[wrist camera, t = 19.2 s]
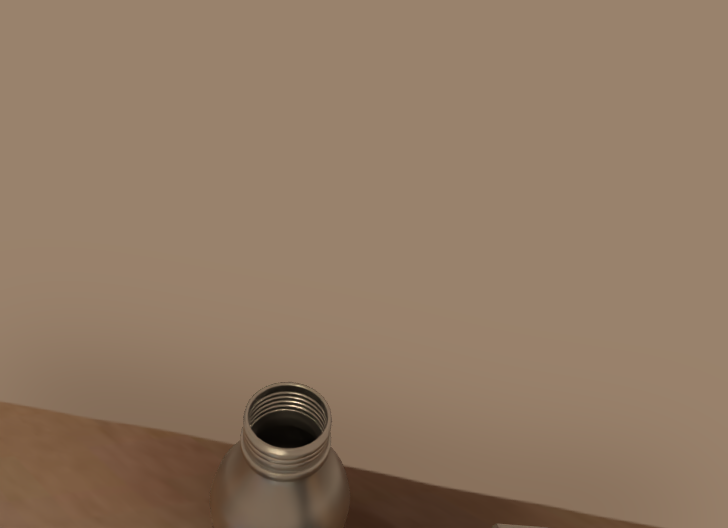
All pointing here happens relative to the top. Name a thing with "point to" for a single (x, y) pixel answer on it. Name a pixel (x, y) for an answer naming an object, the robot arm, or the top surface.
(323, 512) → the plastic bottle
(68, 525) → the top surface
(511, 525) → the robot arm
